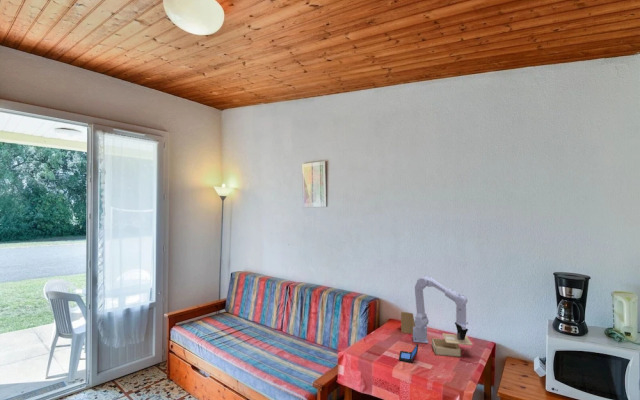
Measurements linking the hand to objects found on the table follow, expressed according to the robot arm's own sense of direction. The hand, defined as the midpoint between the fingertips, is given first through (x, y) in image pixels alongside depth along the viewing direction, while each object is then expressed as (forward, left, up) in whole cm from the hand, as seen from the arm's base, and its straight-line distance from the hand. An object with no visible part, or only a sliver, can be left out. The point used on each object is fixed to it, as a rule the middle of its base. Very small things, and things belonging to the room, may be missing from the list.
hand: (461, 336), depth 201 cm
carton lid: (-3, 0, -2) cm, 3 cm away
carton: (-9, 0, -10) cm, 13 cm away
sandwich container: (-30, +31, -10) cm, 45 cm away
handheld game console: (-33, -15, -10) cm, 38 cm away
